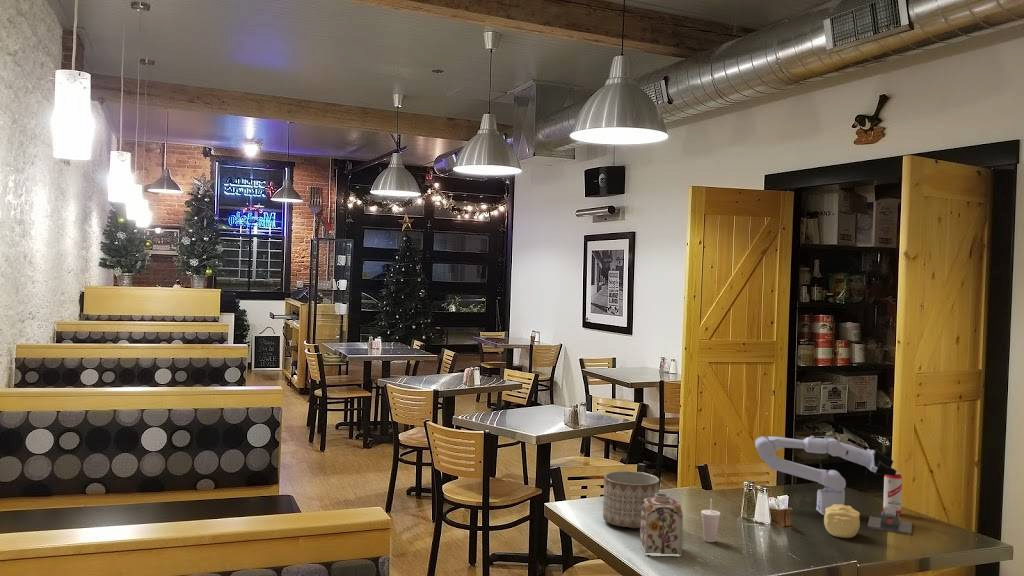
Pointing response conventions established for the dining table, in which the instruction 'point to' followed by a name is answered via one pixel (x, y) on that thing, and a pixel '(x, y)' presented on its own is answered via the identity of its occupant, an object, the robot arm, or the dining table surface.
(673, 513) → the decorative jar
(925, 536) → the dining table surface
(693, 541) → the dining table surface
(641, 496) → the planter
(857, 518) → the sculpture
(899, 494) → the beer can
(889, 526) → the grey square base
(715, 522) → the smoothie
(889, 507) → the block
